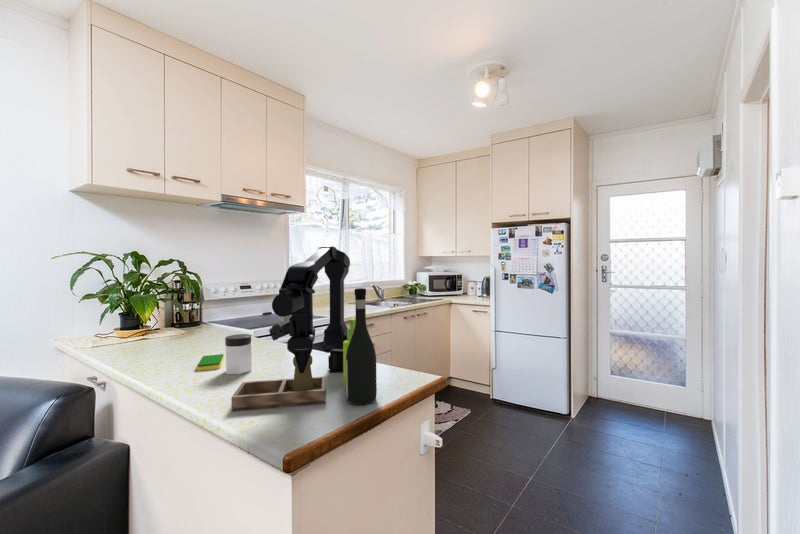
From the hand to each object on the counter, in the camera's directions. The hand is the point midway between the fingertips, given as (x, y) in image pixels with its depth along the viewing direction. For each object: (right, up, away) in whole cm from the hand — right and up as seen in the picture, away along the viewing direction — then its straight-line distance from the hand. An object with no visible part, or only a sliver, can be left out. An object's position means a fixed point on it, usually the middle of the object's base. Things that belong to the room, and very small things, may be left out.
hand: (302, 368), depth 101 cm
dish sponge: (-43, -9, +34) cm, 55 cm away
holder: (-5, -8, -1) cm, 10 cm away
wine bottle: (+16, -8, -3) cm, 19 cm away
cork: (0, -7, 0) cm, 8 cm away
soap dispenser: (+13, -8, +11) cm, 19 cm away
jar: (-29, -8, +25) cm, 39 cm away
